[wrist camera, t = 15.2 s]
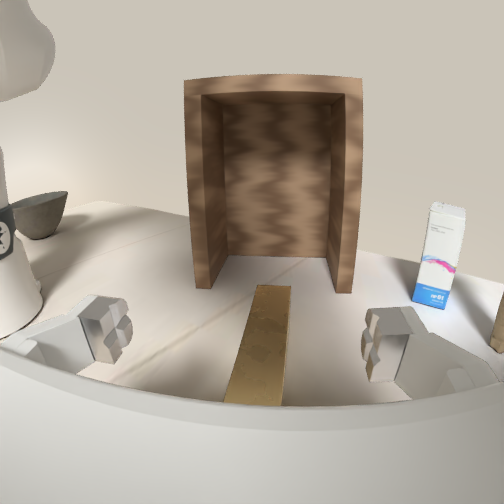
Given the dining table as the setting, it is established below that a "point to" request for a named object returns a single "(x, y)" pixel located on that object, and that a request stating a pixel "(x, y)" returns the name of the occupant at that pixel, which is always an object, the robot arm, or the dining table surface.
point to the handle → (498, 329)
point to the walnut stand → (274, 170)
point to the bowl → (39, 214)
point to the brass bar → (262, 350)
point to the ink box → (440, 254)
